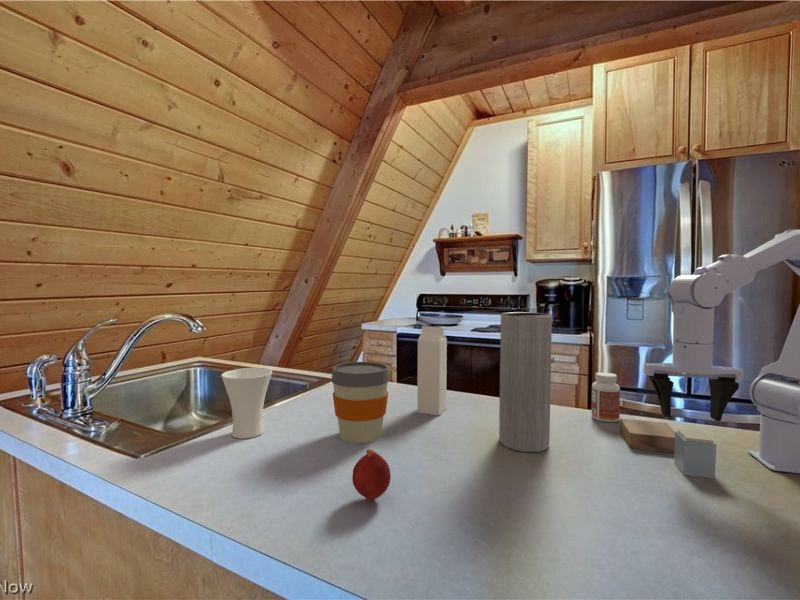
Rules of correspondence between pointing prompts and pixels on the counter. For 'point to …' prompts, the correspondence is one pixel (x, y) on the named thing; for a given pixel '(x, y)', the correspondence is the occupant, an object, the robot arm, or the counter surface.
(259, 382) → the cup
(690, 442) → the blue block cream face
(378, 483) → the onion
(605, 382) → the pill bottle
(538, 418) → the vase
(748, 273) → the robot arm
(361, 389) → the reusable coffee cup
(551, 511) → the counter surface
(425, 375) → the milk
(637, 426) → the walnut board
